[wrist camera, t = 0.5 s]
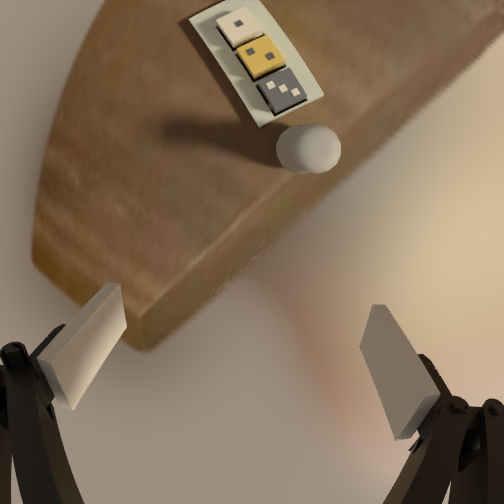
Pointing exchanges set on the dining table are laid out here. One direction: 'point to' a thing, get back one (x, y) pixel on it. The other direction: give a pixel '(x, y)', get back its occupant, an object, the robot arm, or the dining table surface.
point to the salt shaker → (308, 149)
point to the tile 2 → (260, 56)
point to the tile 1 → (239, 26)
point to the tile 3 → (282, 90)
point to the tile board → (233, 67)
